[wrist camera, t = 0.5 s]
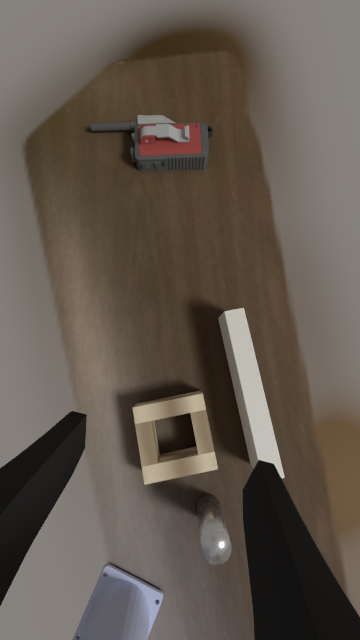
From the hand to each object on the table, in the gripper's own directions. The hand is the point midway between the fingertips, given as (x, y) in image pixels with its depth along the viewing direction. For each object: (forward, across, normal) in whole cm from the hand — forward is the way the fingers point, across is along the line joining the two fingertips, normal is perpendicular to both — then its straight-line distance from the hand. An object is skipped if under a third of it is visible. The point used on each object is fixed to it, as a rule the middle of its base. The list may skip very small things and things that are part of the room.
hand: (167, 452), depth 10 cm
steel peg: (+12, -8, +25) cm, 29 cm away
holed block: (+17, -1, +18) cm, 25 cm away
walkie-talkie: (+41, +13, -16) cm, 46 cm away
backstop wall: (+21, -9, +12) cm, 26 cm away
